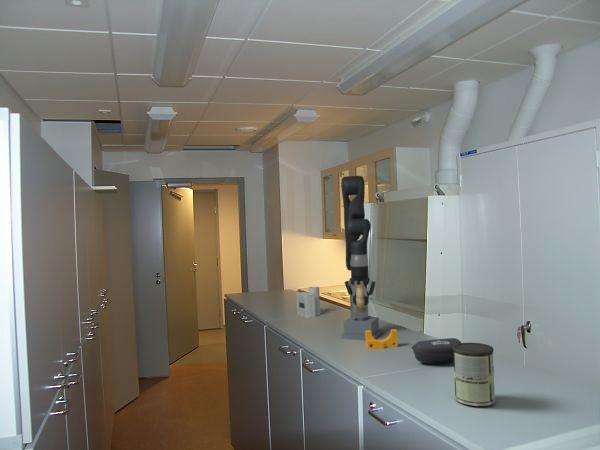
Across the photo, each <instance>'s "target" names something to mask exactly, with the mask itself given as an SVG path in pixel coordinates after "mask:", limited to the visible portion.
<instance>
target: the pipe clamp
mask: <svg viewBox="0 0 600 450" xmlns="http://www.w3.org/2000/svg"><path fill="white" fill-rule="evenodd" d="M365 336H366V340H365V347H366V349H367V350H377V349H379V350H381V349H382V350H383V349H385V348H398V345H399V344H398V330H397V329H394V328H393V329H392V328H391V329H390V332H389V335H388V336H387V337H386V338H385V339H377V338H376V339H375V338H374V337H373V336H372V334H371V331H370V330H365Z"/></svg>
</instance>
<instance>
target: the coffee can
mask: <svg viewBox="0 0 600 450" xmlns="http://www.w3.org/2000/svg"><path fill="white" fill-rule="evenodd" d="M453 352H454V362H453V370H454V371H453V372H454V373H453V375H454V392H455V393H454V399H455V400H456V401H457V402H458V403H461V404H464V405H466V406H474V407H486V406H491V405H493V404H494V403H495V402H496V398H495V397H496V396H495V376H494V375H495V374H494V373H495V369H494V347H493V346H491V345H489V344H486V343H479V342H461V343H459V344H456V345H454V346H453Z"/></svg>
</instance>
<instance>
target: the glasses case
mask: <svg viewBox="0 0 600 450" xmlns="http://www.w3.org/2000/svg"><path fill="white" fill-rule="evenodd" d="M459 343H462V341H460V339H459V338H453V337H449V338H438V339H427V340H420V341H417V342H416V343H415V344H414V345H413V346H412V347H411V349H412V350H413V354H414V357H415V359H416V360H417V361H418V362H419V363H423V364H426V365H427V364H428V365H444V364H449V363H454V352H453V346H454V345H456V344H459Z"/></svg>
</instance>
